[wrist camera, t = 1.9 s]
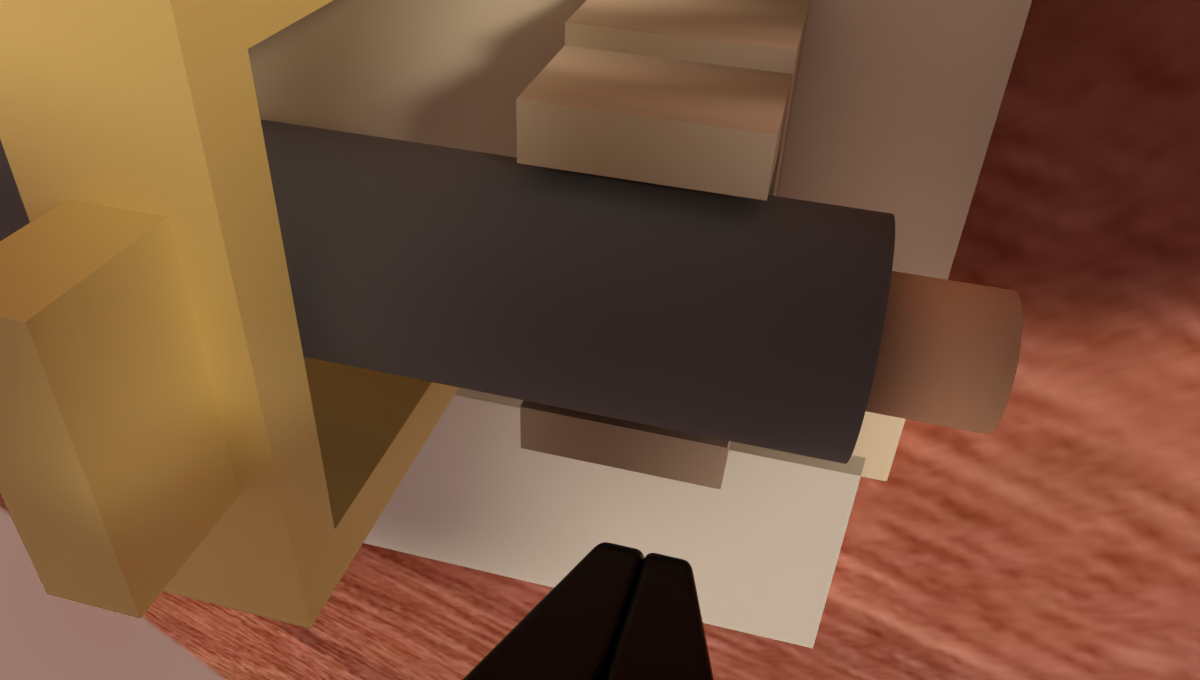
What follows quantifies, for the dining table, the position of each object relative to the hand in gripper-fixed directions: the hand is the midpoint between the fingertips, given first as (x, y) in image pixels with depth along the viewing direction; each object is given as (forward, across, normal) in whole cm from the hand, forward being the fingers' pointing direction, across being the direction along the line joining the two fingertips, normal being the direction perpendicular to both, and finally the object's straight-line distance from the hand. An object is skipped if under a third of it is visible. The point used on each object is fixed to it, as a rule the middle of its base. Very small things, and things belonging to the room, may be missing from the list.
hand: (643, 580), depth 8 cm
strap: (+9, +6, 0) cm, 11 cm away
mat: (+9, +6, +9) cm, 14 cm away
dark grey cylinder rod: (+5, +6, 0) cm, 8 cm away
